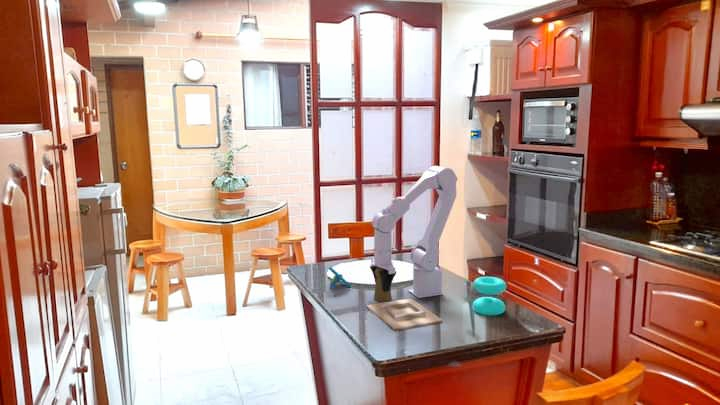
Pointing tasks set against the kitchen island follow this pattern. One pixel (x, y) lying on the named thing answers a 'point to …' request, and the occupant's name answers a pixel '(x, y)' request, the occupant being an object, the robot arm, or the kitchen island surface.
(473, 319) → the kitchen island surface
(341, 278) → the teal angled piece
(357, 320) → the kitchen island surface
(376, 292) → the cork
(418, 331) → the kitchen island surface
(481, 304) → the donuts
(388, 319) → the socket board
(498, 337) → the kitchen island surface
